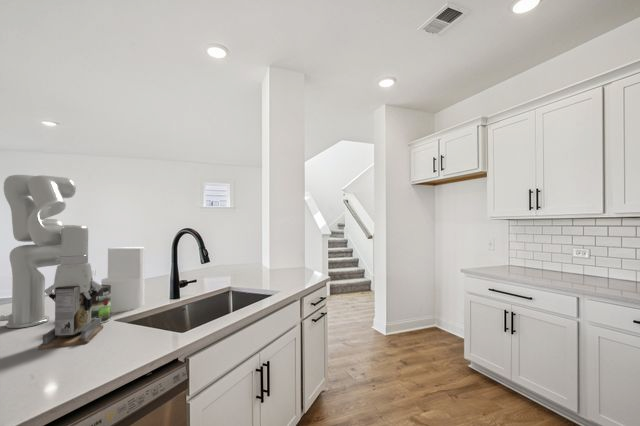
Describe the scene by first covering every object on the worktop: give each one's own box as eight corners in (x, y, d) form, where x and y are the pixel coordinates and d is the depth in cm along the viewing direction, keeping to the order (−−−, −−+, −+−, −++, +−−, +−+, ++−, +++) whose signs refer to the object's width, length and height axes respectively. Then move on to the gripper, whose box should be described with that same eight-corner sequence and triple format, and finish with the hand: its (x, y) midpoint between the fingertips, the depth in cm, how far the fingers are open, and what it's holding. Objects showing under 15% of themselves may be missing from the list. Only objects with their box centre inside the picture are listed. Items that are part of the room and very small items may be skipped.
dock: (38, 349, 96) (38, 336, 96) (61, 332, 111) (61, 321, 111) (87, 343, 100) (87, 331, 100) (103, 327, 115) (103, 317, 115)
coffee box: (73, 326, 110) (73, 282, 110) (92, 325, 110) (92, 281, 111) (53, 335, 101) (54, 287, 101) (73, 335, 101) (74, 286, 102)
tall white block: (121, 301, 154) (121, 246, 155) (152, 302, 152) (152, 246, 152) (91, 311, 137) (92, 250, 138) (125, 312, 134) (126, 250, 135)
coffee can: (117, 318, 127) (117, 284, 127) (94, 326, 117) (94, 290, 117) (96, 317, 129) (97, 283, 129) (72, 325, 119) (72, 289, 119)
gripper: (37, 263, 100) (36, 317, 99) (100, 260, 106) (99, 311, 105) (49, 260, 107) (48, 310, 106) (107, 258, 113) (106, 305, 112)
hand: (73, 310), depth 106 cm, fingers closed on coffee box, 7 cm apart
